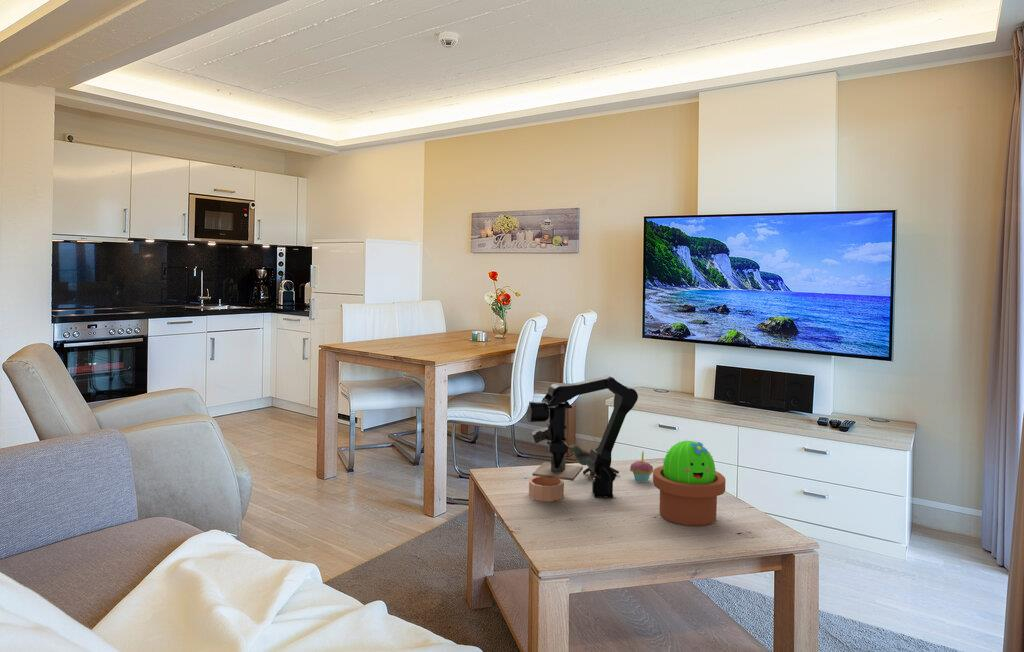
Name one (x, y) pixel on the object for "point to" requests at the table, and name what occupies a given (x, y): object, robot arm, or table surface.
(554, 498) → the bowl
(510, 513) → the table surface
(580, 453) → the bird figurine
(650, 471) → the cupcake
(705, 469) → the potted cactus
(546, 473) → the lid
